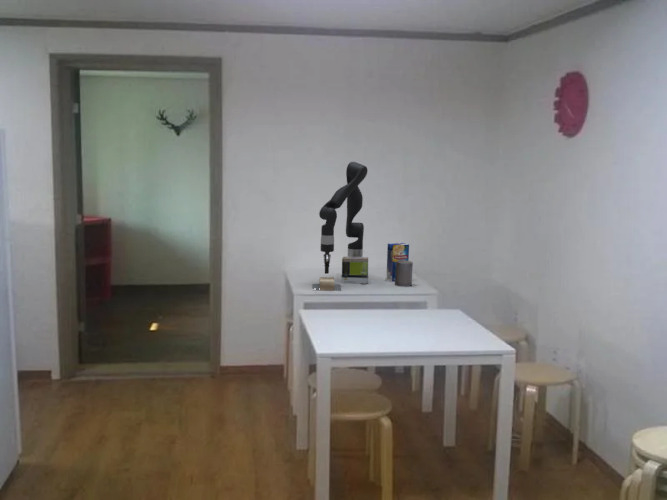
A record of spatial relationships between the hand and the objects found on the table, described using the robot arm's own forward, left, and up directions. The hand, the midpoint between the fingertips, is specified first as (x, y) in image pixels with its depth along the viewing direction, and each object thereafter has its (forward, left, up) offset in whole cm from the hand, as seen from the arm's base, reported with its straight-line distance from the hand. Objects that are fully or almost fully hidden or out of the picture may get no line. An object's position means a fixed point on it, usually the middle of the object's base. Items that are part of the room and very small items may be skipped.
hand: (326, 273), depth 409 cm
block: (+1, 0, -4) cm, 5 cm away
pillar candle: (-8, +45, -8) cm, 46 cm away
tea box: (-14, +17, -8) cm, 23 cm away
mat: (+5, 0, -7) cm, 9 cm away
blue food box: (-23, +43, -8) cm, 49 cm away
